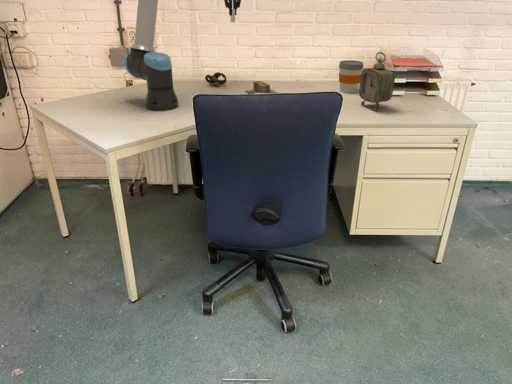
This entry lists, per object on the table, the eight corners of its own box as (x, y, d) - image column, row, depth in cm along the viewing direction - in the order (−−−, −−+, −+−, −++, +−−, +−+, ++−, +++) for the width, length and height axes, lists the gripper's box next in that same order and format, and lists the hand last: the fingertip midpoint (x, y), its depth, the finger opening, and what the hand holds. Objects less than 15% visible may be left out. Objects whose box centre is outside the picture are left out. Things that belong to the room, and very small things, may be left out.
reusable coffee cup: (335, 93, 214) (338, 64, 207) (337, 87, 225) (340, 59, 218) (359, 94, 211) (363, 65, 204) (360, 89, 222) (363, 61, 215)
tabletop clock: (357, 104, 195) (363, 50, 183) (372, 102, 198) (380, 49, 186) (374, 112, 183) (383, 55, 171) (391, 110, 186) (400, 54, 174)
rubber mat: (253, 96, 207) (253, 95, 206) (245, 91, 215) (245, 90, 215) (277, 93, 212) (277, 92, 212) (268, 89, 221) (268, 88, 220)
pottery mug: (225, 84, 232) (228, 73, 226) (223, 95, 227) (226, 84, 220) (204, 79, 230) (207, 67, 223) (202, 90, 224) (205, 78, 218)
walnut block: (253, 89, 217) (261, 94, 208) (253, 81, 215) (262, 85, 206) (260, 89, 219) (269, 93, 210) (260, 80, 216) (269, 85, 208)
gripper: (240, -27, 214) (241, 21, 225) (217, -28, 210) (219, 21, 221) (246, -27, 208) (246, 22, 219) (222, -28, 204) (224, 23, 215)
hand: (232, 22), depth 220 cm, fingers closed
